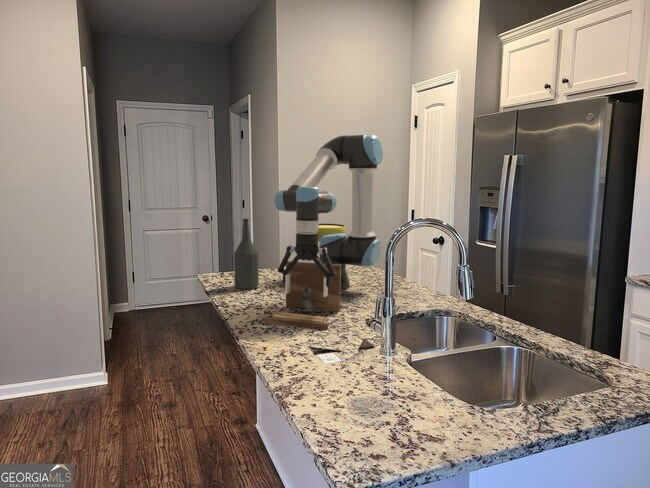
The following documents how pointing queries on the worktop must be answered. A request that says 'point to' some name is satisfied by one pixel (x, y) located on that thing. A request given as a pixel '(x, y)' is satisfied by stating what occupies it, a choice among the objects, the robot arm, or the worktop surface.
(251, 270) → the bottle
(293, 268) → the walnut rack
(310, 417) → the worktop surface
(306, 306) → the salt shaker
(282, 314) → the upper offcut
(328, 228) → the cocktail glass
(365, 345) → the chocolate bar
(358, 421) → the worktop surface
